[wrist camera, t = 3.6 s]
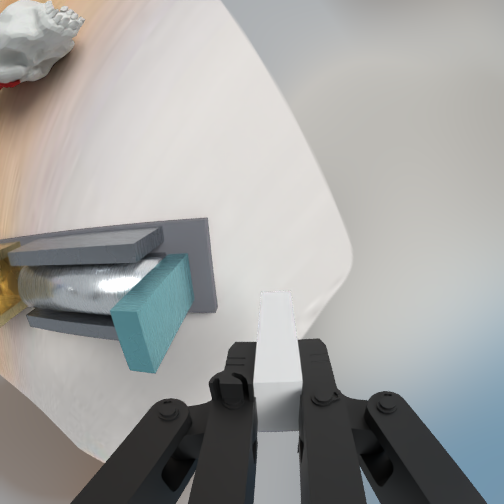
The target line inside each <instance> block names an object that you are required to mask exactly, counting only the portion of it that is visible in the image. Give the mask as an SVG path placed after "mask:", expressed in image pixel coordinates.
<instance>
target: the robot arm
mask: <svg viewBox="0 0 504 504" xmlns="http://www.w3.org/2000/svg"><path fill="white" fill-rule="evenodd" d="M209 388H210V392H211V396H212V400H211V401H209V402H207V403H204V404H200V405H195V406H188V407H187V405H186V404H185V403H184V402H182V401H180V400H178V399H172V398H170V399H163V400H161V401H159V402H157V403H155V404H154V405H153V406H152V407H151V408H150V409H149V411H148V412H147V413H146V414H145V416H144V417H143V418H142V419H141V420H140V422H139V423H138V424H137V425H136V427H135V428H134V429H133V430H132V431H131V433H130V434H129V435H128V436H127V437H126V439H125V440H124V441H123V442H122V443H121V445H120V446H119V447H118V448H117V449H116V451H115V452H114V453H113V454H112V455H111V457H110V458H109V459H108V460H107V461H106V463H105V464H104V465H103V466H102V467H101V468H100V470H99V471H98V472H97V473H96V475H95V476H94V477H93V478H92V479H91V480H90V481H89V483H88V484H87V485H86V486H85V487H84V488H83V490H82V491H81V492H80V493H79V494H78V495H77V496H76V498H75V499H74V500H73V501H72V502H71V504H176V502H177V501H178V499H179V497H180V496H181V494H182V492H183V491H184V489H185V487H186V486H187V484H188V482H189V481H190V479H191V477H192V476H193V474H194V472H195V476H194V480H193V484H192V488H191V493H190V497H189V502H188V504H253V502H254V489H255V475H256V461H257V446H258V445H257V444H258V442H257V431H258V432H283V431H299V444H298V453H299V459H300V460H299V461H300V482H301V483H300V484H301V504H367V503H366V497H365V492H364V486H363V481H362V476H361V471H360V467H361V469H362V471H363V472H364V474H365V476H366V478H367V480H368V482H369V483H370V485H371V487H372V489H373V491H374V492H375V494H376V496H377V498H378V500H379V502H380V503H381V504H487V503H486V501H485V500H484V499H483V497H482V496H481V495H480V493H479V492H478V491H477V490H476V488H475V487H474V486H473V484H472V483H471V482H470V480H469V479H468V478H467V477H466V475H465V474H464V473H463V472H462V470H461V469H460V468H459V466H458V465H457V464H456V463H455V461H454V460H453V459H452V458H451V456H450V455H449V454H448V453H447V451H446V450H445V449H444V448H443V446H442V445H441V444H440V443H439V441H438V440H437V439H436V438H435V436H434V435H433V434H432V433H431V431H430V430H429V429H428V428H427V427H426V425H425V424H424V423H423V422H422V421H421V419H420V418H419V417H418V416H417V414H416V413H415V412H414V411H413V410H412V408H411V407H410V406H409V405H408V403H407V402H406V401H405V400H404V399H403V398H402V397H401V396H400V395H399V394H396V393H394V392H387V391H383V392H378V393H376V394H374V395H373V396H371V398H370V399H369V400H368V401H367V400H357V399H352V398H349V397H346V396H344V395H343V394H342V393H341V392H340V390H338V389H337V386H336V383H335V379H334V375H333V371H332V367H331V363H330V360H329V356H328V352H327V348H326V345H325V344H324V343H323V342H322V341H321V340H320V339H302V340H298V339H297V332H296V324H295V317H294V309H293V302H292V295H291V291H267V292H261V299H260V311H259V323H258V335H257V342H235V343H234V344H233V345H232V346H231V348H230V349H229V351H228V356H227V360H226V366H225V369H224V371H222V372H220V373H217V374H216V375H214V376H213V377H212V378H211V379H210V381H209ZM359 465H360V466H359ZM195 470H196V471H195Z"/></svg>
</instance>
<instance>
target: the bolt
mask: <svg viewBox="0 0 504 504" xmlns="http://www.w3.org/2000/svg"><path fill="white" fill-rule="evenodd" d="M18 292H19V295H20V297H21V299H22V301H23V302H24V303H25V304H26V305H27V306H29V307H35V308H43V309H51V310H60V311H69V312H79V313H90V314H102V315H111V316H112V320H113V323H114V326H115V329H116V332H117V335H118V338H119V341H120V344H121V347H122V350H123V353H124V356H125V358H126V361H127V364H128V366H129V369H130V370H132V371H139V372H147V373H156V371H157V369H158V367H159V365H160V364H161V362H162V360H163V358H164V356H165V354H166V352H167V350H168V348H169V346H170V344H171V342H172V341H173V339H174V337H175V335H176V333H177V331H178V329H179V327H180V325H181V324H182V322H183V320H184V318H185V316H186V314H187V312H188V310H189V309H190V307H191V305H192V303H193V301H194V299H195V298H194V292H193V286H192V279H191V272H190V265H189V258H188V253H181V254H168V255H167V256H166V257H165V258H164V259H145V260H139V261H138V262H137V263H109V264H73V265H32V266H24V267H23V268H22V270H21V271H20V274H19V277H18Z"/></svg>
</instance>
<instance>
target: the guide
mask: <svg viewBox="0 0 504 504" xmlns="http://www.w3.org/2000/svg"><path fill="white" fill-rule="evenodd" d="M162 242H164V235H163V228H162V226H154V227H141V228H129V229H118V230H108V231H97V232H87V233H78V234H68V235H59V236H51V237H42V238H39V239H37V240H35V241H32V242H30V243H28V244H26V245H23V246H21V245H20V241H18V242H10V243H2V244H0V327H1V326H3V325H4V324H5V323H6V322H8V321H9V320H10V319H12V318H13V317H14V316H16V315H17V314H18V313H20V312H21V311H22V310H24V309H25V308H26V307H28V306H27V305H26V304H25V303H24V302H23V301H22V299H21V297H20V295H19V292H18V277H19V274H20V271H21V270H22V268H23V267H24V266H32V265H73V264H109V263H137V262H138V261H139V260H145V259H164V258H165V257H166V252H159V253H149V252H151V251H152V250H153V249H155V248H156V247H157V246H158V245H160V244H161V243H162ZM26 316H27V319H28V321H29V324H30V326H31V327H35V328H40V329H45V330H51V331H56V332H62V333H68V334H74V335H80V336H87V337H94V338H102V339H110V340H119V338H118V335H117V332H116V329H115V326H114V323H113V320H112V316H111V315H102V314H90V313H79V312H69V311H60V310H51V309H43V308H35V309H34V310H32V311H31V312H30V313H28V314H27V315H26Z"/></svg>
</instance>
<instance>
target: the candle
mask: <svg viewBox="0 0 504 504" xmlns="http://www.w3.org/2000/svg"><path fill="white" fill-rule="evenodd" d="M84 21H85V19H84V18H82V17H79V18H78V14H77V13H74V11H73V10H71V9H69V10H68V7H67V6H63V7H62V8H61V9H60V12H59V10H58V9H55V10H54V7H53V5H52V1H47V2H46V3H45V4H44V3H43V4H42V3H39V2H35V1H31V0H20V1H17V2H15V3H13V4H11V5H9V6H8V7H7V8H5V10H3V12H2V13H1V14H0V90H1V88H3V87H5V88H8V87H10V88H11V87H12V88H13V87H14V86H16V85H18V84H20V82H24V81H36V80H39V79H41V78H43V77H45V76H46V75H47V74H48V73H49V71H50V69H51V67H52V66H53V64H54V63H56V62H57V61H58V60H59V59H60V58H62V57H64V56H65V55H66V54H67V53H68V52H70V51H71V50H72V48H73V47H74V45H75V44H74V41H73V40H72V38H73V37H75V36H76V35H77V33H78V31H79V29H80V27H81V26H82V25H83V23H84Z"/></svg>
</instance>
